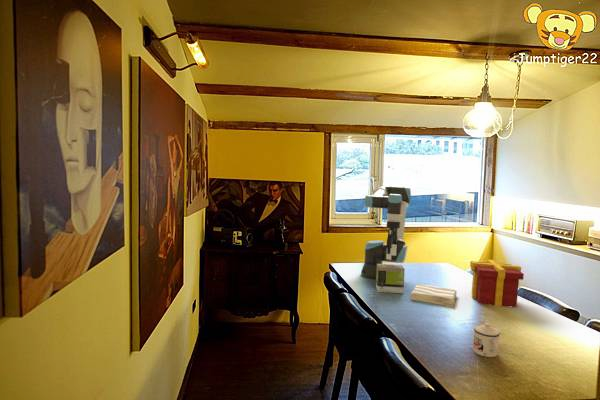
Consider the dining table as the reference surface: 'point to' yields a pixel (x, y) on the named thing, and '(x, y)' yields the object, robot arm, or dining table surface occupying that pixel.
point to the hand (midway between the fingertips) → (391, 257)
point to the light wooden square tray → (434, 295)
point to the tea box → (390, 278)
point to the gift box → (495, 283)
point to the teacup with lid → (486, 340)
